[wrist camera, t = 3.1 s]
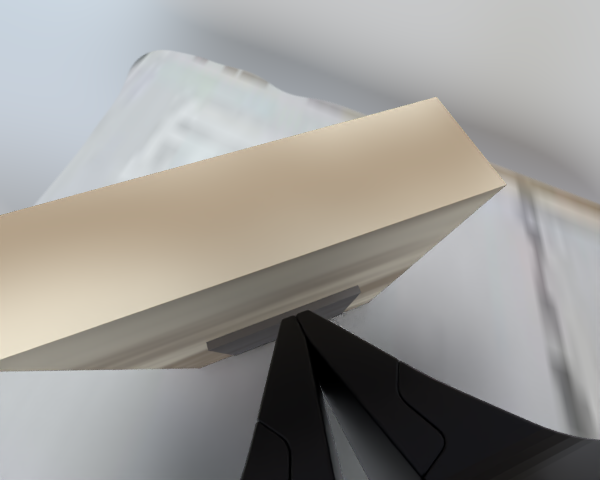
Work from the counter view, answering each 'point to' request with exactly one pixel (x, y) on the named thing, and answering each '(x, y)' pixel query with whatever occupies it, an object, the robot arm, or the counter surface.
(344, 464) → the counter surface
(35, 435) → the counter surface
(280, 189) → the birch slab
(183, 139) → the counter surface
